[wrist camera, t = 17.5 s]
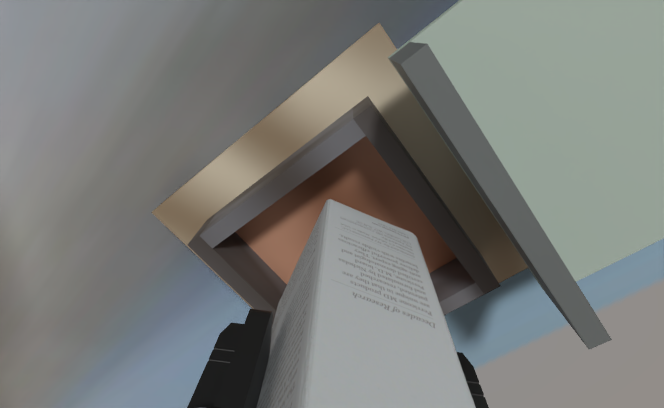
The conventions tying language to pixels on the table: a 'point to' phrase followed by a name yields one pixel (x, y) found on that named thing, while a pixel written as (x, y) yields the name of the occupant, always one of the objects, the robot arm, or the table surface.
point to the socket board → (340, 185)
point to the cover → (553, 128)
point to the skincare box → (361, 324)
